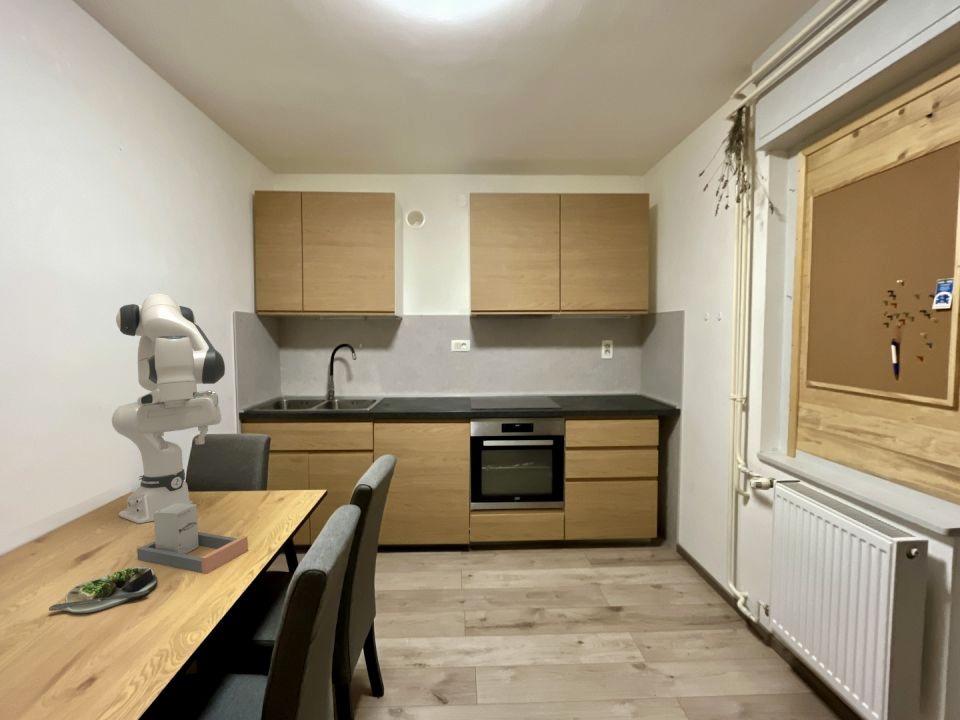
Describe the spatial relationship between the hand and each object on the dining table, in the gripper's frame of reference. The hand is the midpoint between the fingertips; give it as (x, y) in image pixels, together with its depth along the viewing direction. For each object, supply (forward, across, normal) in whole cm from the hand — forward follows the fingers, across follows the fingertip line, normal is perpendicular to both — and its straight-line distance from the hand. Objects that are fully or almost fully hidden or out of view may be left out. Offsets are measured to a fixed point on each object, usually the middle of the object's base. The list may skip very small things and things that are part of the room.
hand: (182, 446), depth 121 cm
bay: (+30, +4, -8) cm, 31 cm away
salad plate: (+32, +12, +10) cm, 36 cm away
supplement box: (+29, +10, -10) cm, 32 cm away
